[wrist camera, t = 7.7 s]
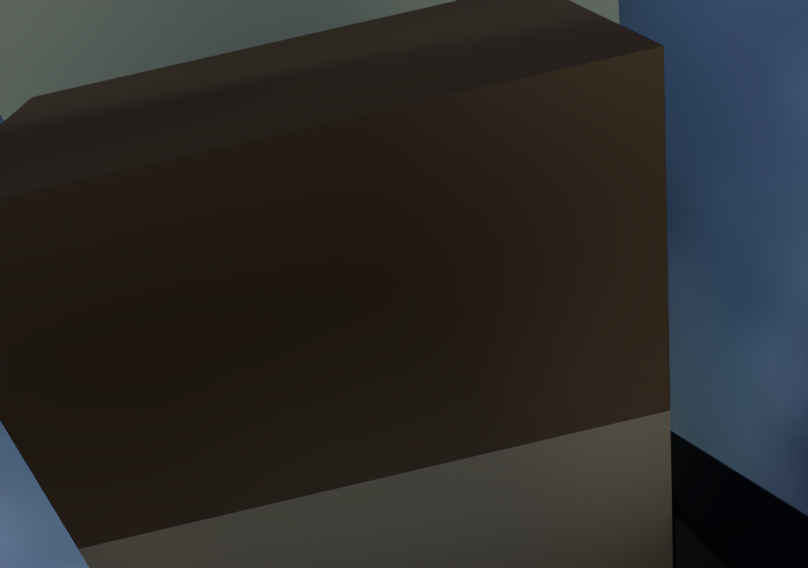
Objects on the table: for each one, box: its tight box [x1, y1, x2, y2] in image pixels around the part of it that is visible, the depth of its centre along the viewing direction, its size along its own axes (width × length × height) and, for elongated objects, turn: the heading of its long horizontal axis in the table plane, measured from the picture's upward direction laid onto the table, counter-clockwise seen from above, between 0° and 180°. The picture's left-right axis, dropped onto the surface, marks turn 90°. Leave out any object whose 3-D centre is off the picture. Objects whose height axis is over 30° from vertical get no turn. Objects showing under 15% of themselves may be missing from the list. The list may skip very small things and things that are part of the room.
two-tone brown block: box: [0, 0, 673, 568], centre depth 8 cm, size 10×5×3 cm, turn 11°
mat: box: [0, 0, 620, 121], centre depth 17 cm, size 13×13×1 cm
